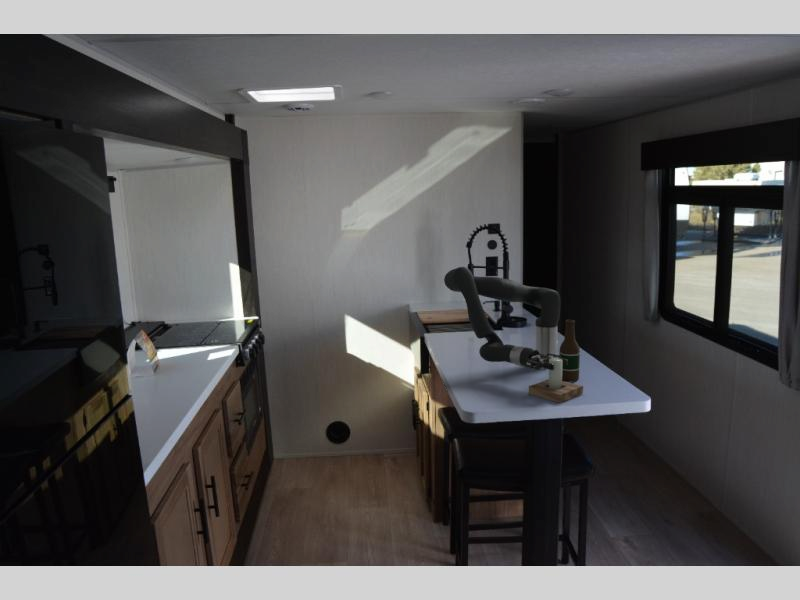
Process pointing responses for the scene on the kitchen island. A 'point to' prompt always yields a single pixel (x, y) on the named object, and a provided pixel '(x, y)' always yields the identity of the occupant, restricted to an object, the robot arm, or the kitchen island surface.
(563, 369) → the beer bottle
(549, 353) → the robot arm
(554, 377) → the pale green cylinder
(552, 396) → the walnut block
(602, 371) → the kitchen island surface
